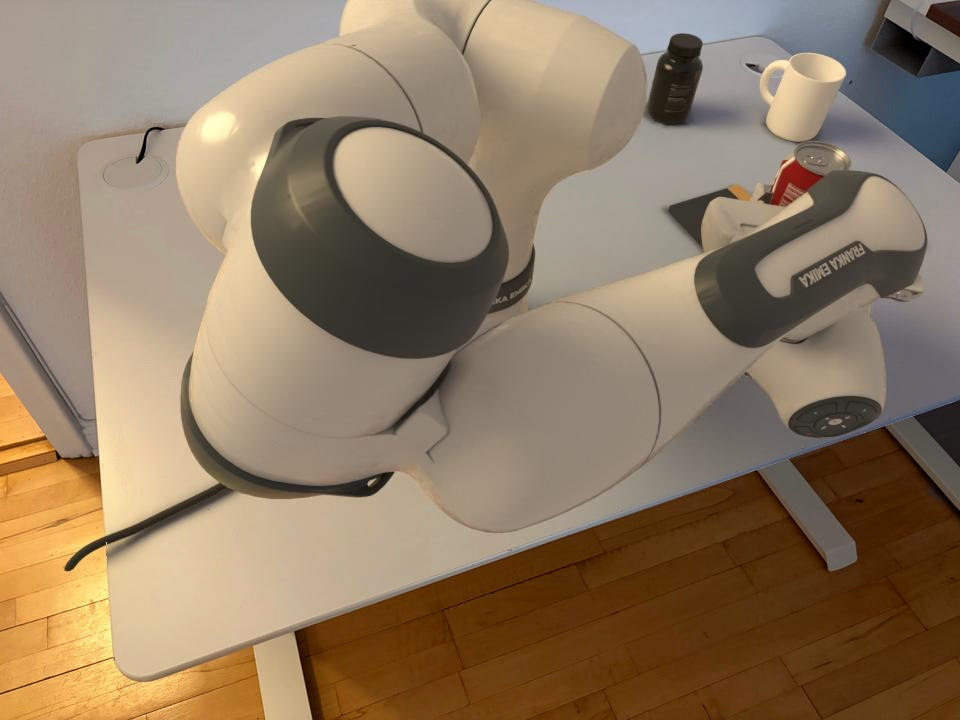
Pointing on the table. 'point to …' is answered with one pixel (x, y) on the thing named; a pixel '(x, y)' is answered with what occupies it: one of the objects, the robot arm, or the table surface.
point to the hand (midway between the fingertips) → (799, 194)
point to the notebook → (702, 209)
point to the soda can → (806, 170)
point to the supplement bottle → (676, 80)
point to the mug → (801, 94)
